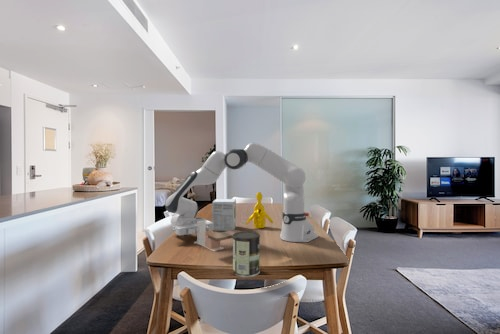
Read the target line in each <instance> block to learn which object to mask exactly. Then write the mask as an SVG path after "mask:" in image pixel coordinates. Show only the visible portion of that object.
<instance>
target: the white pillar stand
mask: <svg viewBox="0 0 500 334" xmlns="http://www.w3.org/2000/svg"><path fill="white" fill-rule="evenodd" d="M206 232H207V231H206V222H205V221H198V222H197V234H196V238H197V239H196V241H193V244H194V245H195V244H197V245H200V246H202V247H203V248H206V249H208V250H210V251H212V252H216V251H220V250H225V247H223V246H220V247H218V248H214V249H210V248H207V247H205V236H207V235H206V234H207V233H206Z"/></svg>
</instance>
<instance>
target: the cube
mask: <svg viewBox="0 0 500 334" xmlns="http://www.w3.org/2000/svg"><path fill="white" fill-rule="evenodd" d="M206 247H207V248H206ZM218 247H221V241H214V240H212V239H209V238H208V235H206V236H205V247H204V248H206V249H208V248H210V249H214V248H218ZM210 249H209V250H210Z"/></svg>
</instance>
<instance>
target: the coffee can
mask: <svg viewBox="0 0 500 334" xmlns="http://www.w3.org/2000/svg"><path fill="white" fill-rule="evenodd" d="M260 239H261V234H259V233H258V232H255V231H242V232H237V233H234V234H233V238H232V270H233V271H234V272H233V275H234V276H236V277H238V278H253V277H257V276H258V275H260V273H261V271H260V270H261V269H260V257H261V256H260V247H261V245H260V243H261V242H260V241H261V240H260Z"/></svg>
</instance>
